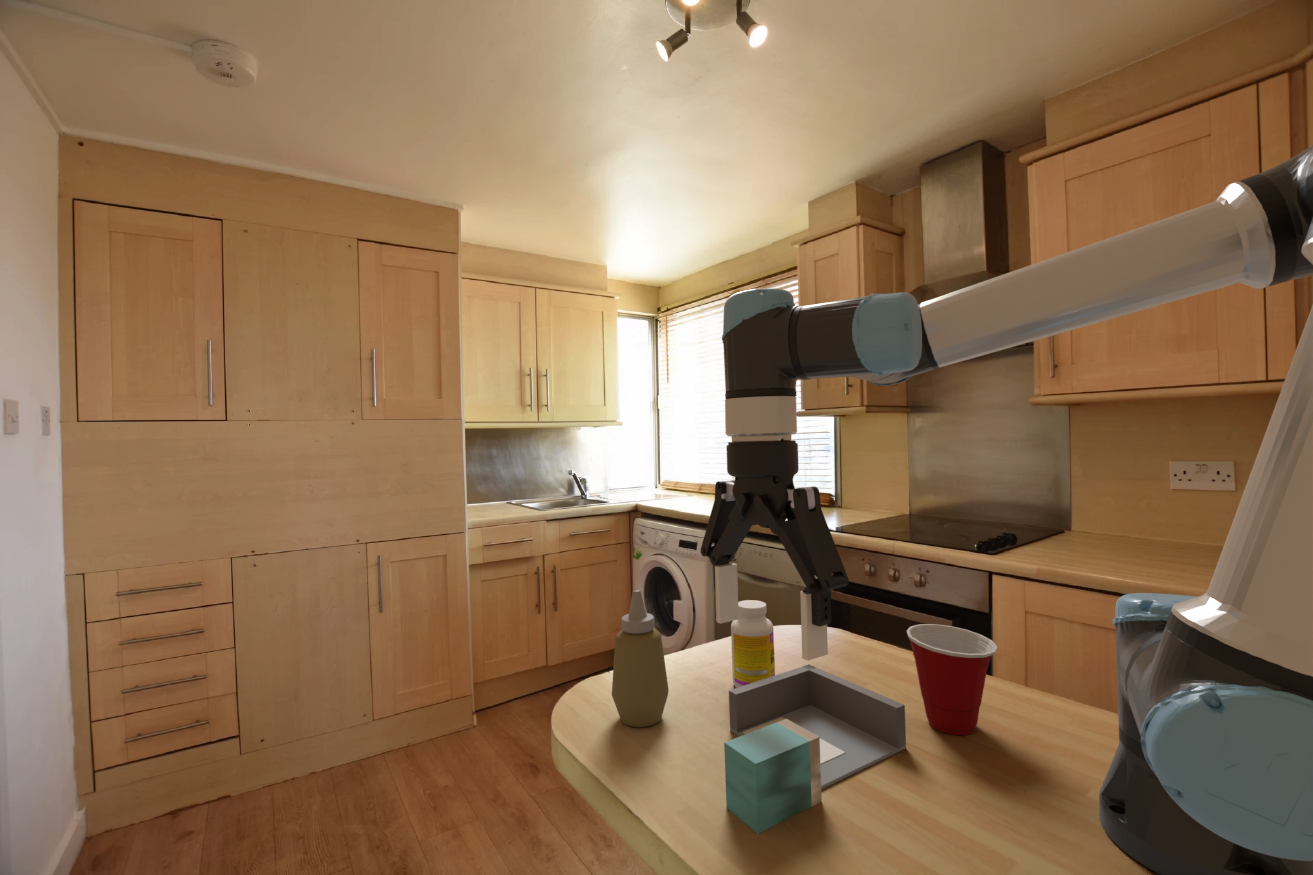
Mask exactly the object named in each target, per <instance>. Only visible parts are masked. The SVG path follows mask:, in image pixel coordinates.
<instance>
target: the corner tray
mask: <svg viewBox="0 0 1313 875" xmlns="http://www.w3.org/2000/svg"><path fill="white" fill-rule="evenodd" d="M728 704H729V706H728V707H729V709H728V711H729V732H731V733H733V734H734V735H736V736H737V737H740V736H742V735H745V734H748V733H750V732H753V731H755V730H758V729H761V728H763V727H766V726H769V725H771V724H774V723H776V722H779V721H782V720H784V719H788V720H790V721H792V722H793V723H795V724H797V725H799V726H801V727H802V728H804V729H806V730H808V731H810V732H811V733H813V734H815V735H817V736H819V737H820V766H821V791H822V790H823V789H825V788H828V787H829V786H832V785H833V784H836V783H837V782H840V781H841V780H844V779H846V778H848V777H850V776H852V775H854V774H856V773H858V772H860V771H862V770H865V769H866V768H869V767H870V766H873V765H875V764H876V763H879V762H881V761H883V760H885V759H887V758H889V757H890V756H893V755H895V754H898V753H899V752H902V751H903V750H905V749H907V738H906V737H907V735H906V731H907V730H906V729H907V728H906V709H905V708H906V706H905V704H903V703H902V702H899V701H897V700H895V699H892V698H889V697H887V696H885V695H883V694H879V693H878V692H875V691H873V690H870V689H868V688H866V687H864V686H861V685H859V684H856V683H854V682H851V681H849V680H847V679H844V678H841V677H840V676H838V675H836V674H832V673H830V672H827V671H825V670H824V669H821V668H819V667H816V666H814V665H811V664H806V665H802V666H800V667H797V668H794V669H791V670H787V671H785V672H781V673H778V674H775V676H772V677H769V678H766V679H763V680H760V681H757V682H753V683H750V684H747V685H744V686H741V687H738V688H737V687H735V688H731V689H729V690H728Z"/></svg>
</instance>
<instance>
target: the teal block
mask: <svg viewBox="0 0 1313 875" xmlns="http://www.w3.org/2000/svg"><path fill="white" fill-rule="evenodd" d="M723 744H724V748H723V750H724V774H725V776H724V777H725V799H726V802H725V803H726V809H727V810H729V811H730V812H731V813H732V814H733V815H735V816H736V818H738V819H739V820H740V821H742V822H743V823H744V824H745V825H747V827H749V828H750V829H751V830H752V831H754V832H755V833H756V834H757V835H759V834H761V833H763V832H764V831H767V830H769V829H772V828H773V827H774V826H776V825H778V824H780V823H783V822H784V821H787V820H788V819H790V818H793V817H795V816H797V815H799V814H800V813H802V812H805V811H806V810H809V809H811V808H812V807H814V806H816V805H819V804H820V803H822V798H823V797H822V790H821V766H820V737H819V736H817V735H815V734H813V733H811V732H810V731H808V730H806V729H804V728H802V727H801V726H799V725H797V724H795V723H793V722H792V721H790V720H788V719H784V720H782V721H779V722H776V723H774V724H771V725H769V726H766V727H763V728H761V729H758V730H755V731H753V732H750V733H748V734H745V735H742V736H740V737H739V736H737V737H735V738H733V739H730V740H727V741H724V742H723Z"/></svg>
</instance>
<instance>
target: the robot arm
mask: <svg viewBox="0 0 1313 875" xmlns="http://www.w3.org/2000/svg"><path fill="white" fill-rule="evenodd" d="M1311 276H1313V144H1311V145H1310V146H1308V148H1306V149H1305V150H1303V151H1301V152H1299V153H1298V154H1296V155H1294V156H1292V157H1290V158H1289V159H1287V160H1285V161H1283V162H1281V163H1279V164H1277V165H1275V166H1273V167H1271V168H1269V169H1266V170H1264V171H1262V172H1259V173H1257V174H1254V175H1251V176H1249V177H1246V178H1242V179H1239V180H1238V181H1234V182H1232V183H1229V184H1228V185H1227V186H1225V188H1224V189H1223V191H1222V192H1221V193H1220V195H1219V196H1218V197H1217V198H1216V200H1215V201H1212V202H1209V203H1205V204H1203V205H1200V206H1198V207H1195V208H1192V209H1189V210H1186V211H1182V212H1181V213H1177V214H1174V215H1172V216H1168V217H1166V218H1163V219H1161V220H1160V219H1159V220H1157V221H1154V222H1151V223H1148V224H1146V225H1143V226H1140V227H1138V228H1137V227H1136V228H1134V229H1130V230H1128V231H1125V232H1122V233H1120V234H1117V235H1113V236H1111V237H1107V238H1105V239H1102V240H1099V241H1097V242H1096V241H1095V242H1094V243H1091V244H1087V245H1085V246H1084V245H1083V246H1082V247H1079V248H1076V249H1073V250H1070V251H1068V252H1065V253H1063V254H1059V255H1056V256H1053V257H1050V258H1047V259H1044V260H1042V261H1039V262H1035V263H1033V264H1029V265H1027V266H1023V267H1022V268H1019V269H1016V270H1012V271H1010V272H1007V273H1003V274H1000V275H999V276H995V277H992V278H989V279H986V280H983V281H980V282H978V283H974V284H972V285H969V286H966V287H964V288H961V289H957V290H955V291H952V292H948V293H946V294H943V295H941V296H937V297H934V298H932V299H929V300H925V301H922V302H920V304H919V303H918V301H917V299H916V297H915V296H914V295H913V294H911V293H909V292H904V291H903V292H894V293H880V292H878V293H877V292H876V293H870V294H869V295H866V296H859V297H854V298H847V299H842V300H841V299H840V300H835V301H828V302H821V303H816V304H815V303H814V304H809V305H801V306H800V305H796V303H794V296H793V294H792V293H791V292H790V291H788V290H786V289H783V288H778V287H777V288H776V287H774V288H773V287H767V288H752V289H747V290H742V291H739V292H736V293H733V294H732V295H731V296H729V298H727V299H726V301H725V303H724V306H723V326H722V330H723V331H722V336H721V342H722V344H723V359H724V360H723V362H724V367H723V368H724V386H725V394H724V395H725V397H724V398H725V399H724V414H725V416H724V418H725V422H724V424H725V428H724V429H725V430H724V431H725V435H726V436H727V437H731V441H729V442H727V444H726V472H727V474H728V475H729V476H731V477H734V479H731V480H730V479H729V480H721V481H720V480H718V481H716V482H715V484H714V501H713V504H712V508H711V512H710V515H709V518H708V521H707V526H706V529H705V532H704V536H703V539H702V542H701V547H700V554H701V556H702V557H703V558H704V557H705V558H706V557H707V558H708V559H709V562H710V564H711V565H712V566H713V568H712V569H713V570H712V571H713V588H714V591H715V616H716V618H715V620H716V621H715V622H716V623H718V624H724V623H729V622H733V621H734V620H738V619H739V612H738V602H739V584H738V581H739V580H738V564H737V563H734V562H735V561H737V559H736V557H735V555H736V554H737V552H738V550H739V549H740V547H741V545H742V543H743V542H744V540H745V539H746V536H747V535H748V533H749V532H750V530H751V528H752V526H759V527H760V528H763V529H769V530H770V531H771V533H772V534H774V535H776V536H777V537H778V538H779V541H780V542H781V544H782V546H783V547H784V549H785V551H786V553H787V555H788V557H789V559H790V560H791V562H792V564H793V565H794V568H795V569H796V571H797V572H798V575H799V576H800V579H801V580H802V581H803V583H804V585H805V588H803V590H800V592H799V593H800V622H801V624H800V625H801V626H800V628H801V656H802V657H801V659H803V660H805V661H811V660H814V659H818V658H820V657H824V656H826V655H827V656H828V654H829V653H828V652H829V650H828V649H829V648H828V646H829V644H828V625H830V624H831V621H832V598H831V597H832V596H831V595H832V591H833V590H834V589H838V588H842V587H846V586H848V585H849V581H850V580H849V577H848V575H847V574H848V573H847V572H846V569H845V567H844V564H843V561H842V558H841V556H840V553H839V551H838V548H837V545H836V543H835V541H834V537H833V535H832V533H831V531H830V528H829V526H828V522H827V520H826V517H825V515H824V512H823V510H822V503H821V494H820V490H819V487H817V486H806V487H804V486H803V487H797V488H796V487H795V484H794V476H795V475H796V474H798V472H799V444H798V442H797V440H792V435H796V434H797V432H798V417H797V381H799V380H802V381H805V380H815V379H832V378H833V379H834V378H854V379H859V380H862V381H866V382H868V383H871V384H873V385H877V386H881V387H882V386H884V387H885V386H892V385H897V384H900V383H904V382H906V381H908V380H909V379H911V378H912V377H913V376H916V375H917V376H918V375H920V374H924V373H927V372H931V371H934V370H937V369H939V368H942V367H946V366H949V365H950V366H951V365H953V364H956V363H960V362H963V361H964V362H965V361H967V360H971V359H974V358H978V357H981V356H985V355H989V354H992V353H995V352H999V351H1002V350H1006V349H1010V348H1013V347H1017V346H1021V345H1025V344H1026V343H1027V344H1028V343H1032V342H1035V341H1038V340H1042V339H1045V338H1049V337H1052V336H1055V335H1060V334H1063V333H1067V332H1071V331H1073V330H1077V329H1080V328H1083V327H1087V326H1091V325H1095V324H1098V323H1102V322H1105V321H1109V320H1112V319H1116V318H1120V317H1123V316H1127V315H1130V314H1134V313H1136V312H1140V311H1145V310H1147V309H1151V308H1155V307H1159V306H1162V305H1164V304H1169V303H1173V302H1175V301H1180V300H1183V299H1187V298H1190V297H1193V296H1198V295H1201V294H1205V293H1209V292H1213V291H1215V290H1218V289H1223V288H1225V287H1229V286H1232V285H1236V284H1241V285H1244V286H1247V287H1250V288H1253V289H1256V290H1260V289H1264V288H1268V287H1273V286H1275V285H1279V284H1282V283H1287V282H1291V281H1294V280H1298V279H1303V278H1307V277H1311ZM1294 352H1295V353H1294V354H1293V357H1292V360H1291V362H1290V365H1289V368H1288V371H1287V372H1286V376H1285V379H1284V381H1283V384H1282V387H1281V390H1280V393H1279V395H1278V398H1277V401H1276V402H1275V407H1274V409H1273V411H1272V414H1271V417H1270V420H1269V422H1268V425H1267V428H1266V431H1265V434H1264V436H1263V438H1262V441H1261V445H1260V447H1259V450H1258V452H1257V454H1256V457H1255V460H1254V464H1253V465H1252V469H1251V471H1250V474H1249V477H1248V480H1247V483H1246V484H1245V488H1244V490H1243V493H1242V495H1241V498H1240V501H1239V504H1238V507H1237V510H1236V513H1235V515H1234V517H1233V520H1232V524H1231V526H1230V528H1229V531H1228V534H1227V536H1226V540H1225V542H1224V545H1223V548H1222V550H1221V554H1220V555H1219V558H1218V561H1217V564H1216V567H1215V569H1214V572H1213V575H1212V578H1211V579H1210V583H1209V585H1208V588H1207V591H1206V592H1205V593H1203V594H1201V595H1198V596H1195V595H1183V594H1173V593H1172V594H1171V593H1169V594H1168V593H1156V592H1155V593H1154V592H1153V593H1152V592H1149V593H1148V592H1136V593H1135V592H1133V593H1127V594H1124V595H1122V596H1120V597H1119V598H1118V599H1117V601H1116V603H1115V610H1114V612H1115V613H1114V618H1113V619H1112V626H1113V627H1115V639H1116V640H1115V644H1116V645H1115V646H1116V648H1115V649H1116V650H1115V651H1116V679H1117V682H1116V683H1117V708H1118V709H1117V712H1118V713H1117V715H1118V716H1117V718H1118V741H1119V742H1118V746H1117V748H1116V750H1115V753H1114V755H1113V757H1112V760H1111V763H1110V765H1109V768H1108V770H1107V772H1106V774H1105V777H1104V780H1103V782H1102V784H1101V787H1100V790H1099V795H1098V808H1099V809H1098V810H1099V812H1098V813H1099V822H1100V823H1101V827H1102V828H1103V830H1104V831H1105V833H1106V834H1107V835H1108V837H1109V839H1111V841H1113V842H1114V843H1115V844H1116V845H1117V846H1118V847H1119V848H1120V849H1121V850H1122V851H1123V852H1124V853H1126V854H1128V856H1130V857H1131V858H1133V859H1134V860H1135V861H1137V862H1138V863H1140V864H1141V865H1143V866H1144V867H1146V868H1148V869H1149V870H1150V871H1153V872H1155V873H1156V874H1158V875H1313V304H1312V305H1311V308H1310V312H1309V313H1308V317H1307V319H1306V322H1305V325H1304V327H1303V330H1302V332H1301V336H1300V338H1299V341H1298V344H1297V346H1296V348H1295V351H1294ZM731 562H732V563H731Z"/></svg>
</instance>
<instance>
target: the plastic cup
mask: <svg viewBox="0 0 1313 875" xmlns="http://www.w3.org/2000/svg"><path fill="white" fill-rule="evenodd" d="M906 634H907V637H908V639H909V641H910V647H911V648H912V653H913V654H912V655H913V657H914V662H915V663H914V664H915V666H916V667H915V668H916V673H917V679H918V683H919V690H920V694H921V697H922V701H923V704H924V709H925V716H926V718H927V721H928V724H929V726H930V727H932V728H933V729H935V730H937V731H939V732H941V733H943V734H944V733H945V734H949V735H954V736H967V735H971V734H973V733H975V730H976V728H977V726H978V722H979V721H978V720H979V713H980V707H981V704H982V700H983V694H984V688H985V683H986V678H987V670H988V668H989V664H990V662H991V659H992V656H993V655H995V653H996V651H997V648H998V646H997V644H996V643H995V642H994V641H993V640H992V639H990V638H989V637H986V636H984V635H982V634H980V633H978V632H974V631H971V630H969V629H965V628H961V627H956V626H952V625H944V624H935V623H930V624H929V623H926V624H921V623H920V624H915V625H912V626H909V627H908V629H907V630H906Z"/></svg>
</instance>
